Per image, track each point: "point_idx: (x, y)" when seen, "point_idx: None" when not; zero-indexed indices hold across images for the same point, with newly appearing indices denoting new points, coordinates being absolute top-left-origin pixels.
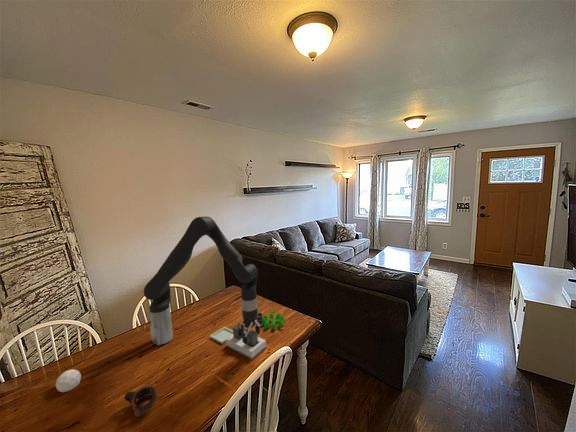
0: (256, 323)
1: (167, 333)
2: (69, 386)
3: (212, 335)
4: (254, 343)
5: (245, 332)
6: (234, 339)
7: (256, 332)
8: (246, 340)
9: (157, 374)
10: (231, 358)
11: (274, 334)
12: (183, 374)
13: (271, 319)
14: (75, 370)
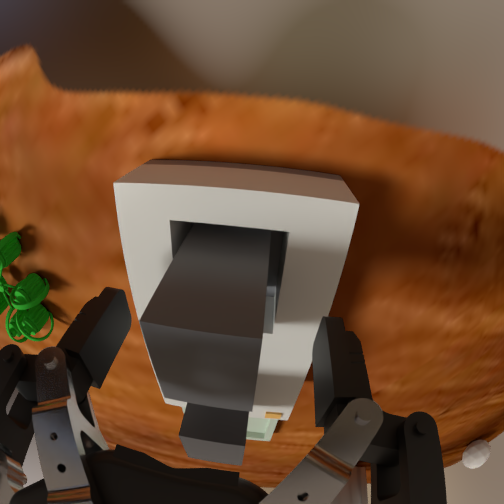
0: (74, 457)
1: (345, 489)
2: (487, 445)
3: (261, 437)
4: (240, 251)
5: (353, 461)
6: (267, 394)
7: (145, 331)
8: (343, 347)
9: (460, 411)
10: (371, 311)
11: (34, 207)
12: (470, 378)
13: (5, 293)
14: (471, 466)
